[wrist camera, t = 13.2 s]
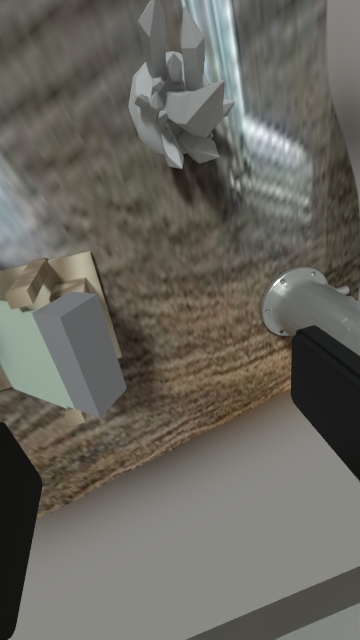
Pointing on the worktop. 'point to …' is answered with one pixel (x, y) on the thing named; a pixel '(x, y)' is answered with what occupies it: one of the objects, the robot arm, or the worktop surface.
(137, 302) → the worktop surface
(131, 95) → the crystal
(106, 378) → the trapdoor
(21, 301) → the frame
